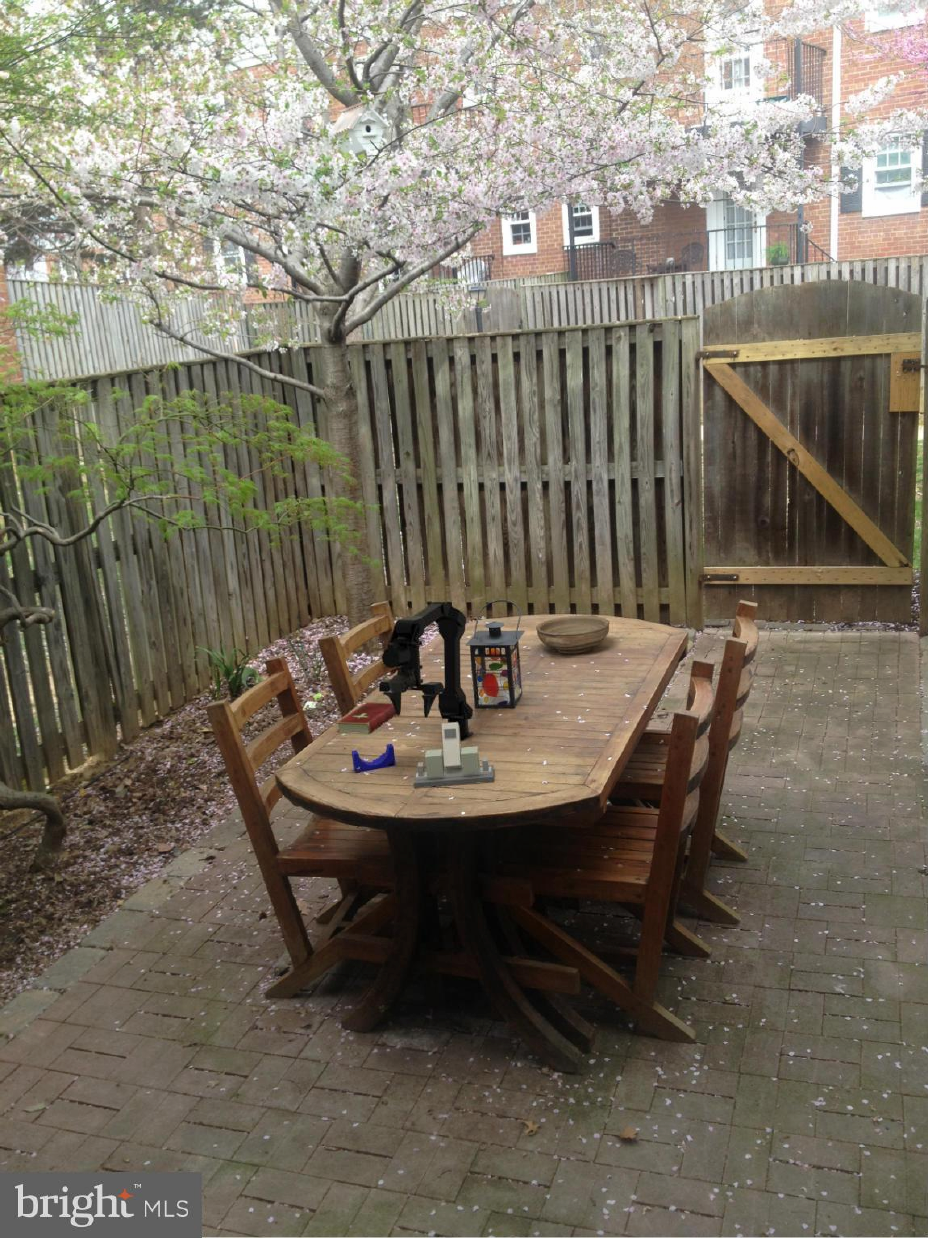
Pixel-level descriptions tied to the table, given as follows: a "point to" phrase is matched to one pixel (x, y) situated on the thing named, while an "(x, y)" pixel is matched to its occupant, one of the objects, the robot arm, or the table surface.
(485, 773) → the rail board
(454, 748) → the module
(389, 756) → the blue cradle stand
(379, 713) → the hardcover book
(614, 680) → the table surface
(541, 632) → the ceramic bowl
